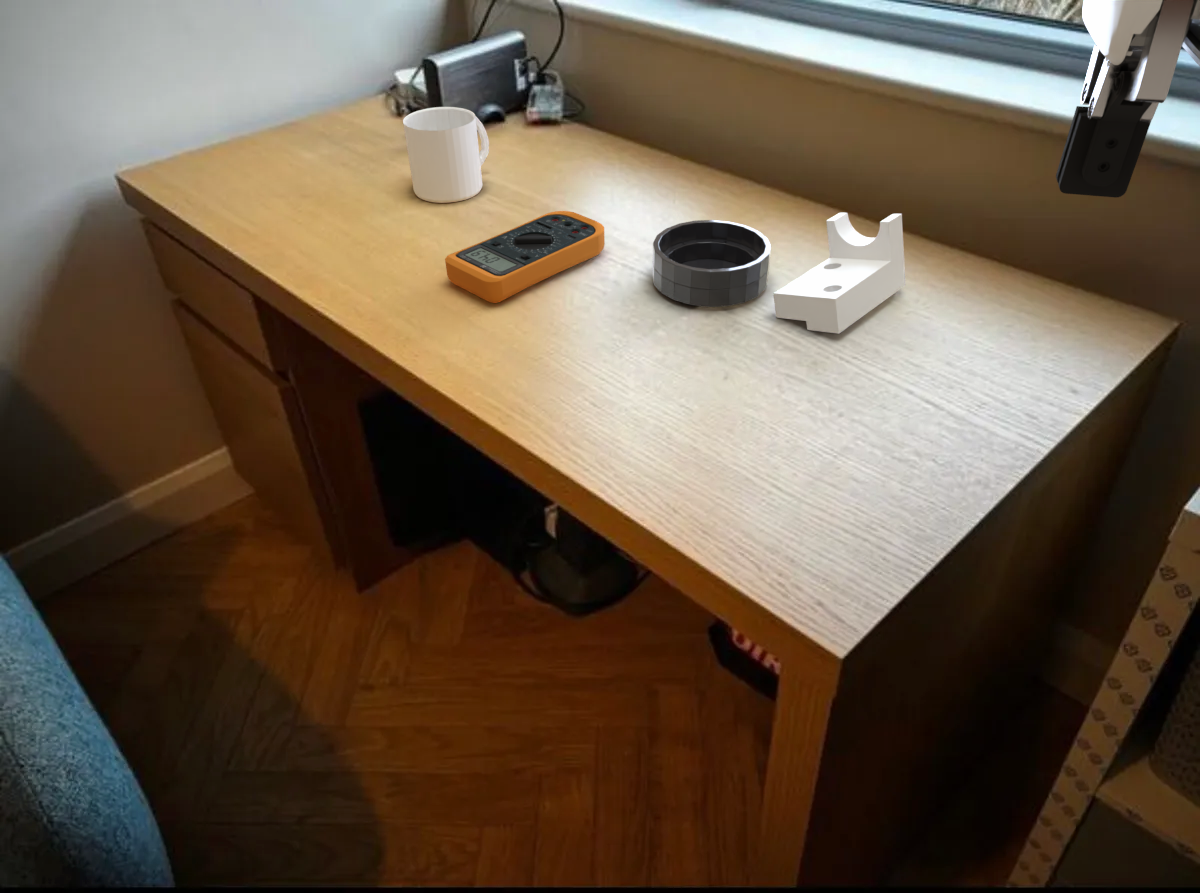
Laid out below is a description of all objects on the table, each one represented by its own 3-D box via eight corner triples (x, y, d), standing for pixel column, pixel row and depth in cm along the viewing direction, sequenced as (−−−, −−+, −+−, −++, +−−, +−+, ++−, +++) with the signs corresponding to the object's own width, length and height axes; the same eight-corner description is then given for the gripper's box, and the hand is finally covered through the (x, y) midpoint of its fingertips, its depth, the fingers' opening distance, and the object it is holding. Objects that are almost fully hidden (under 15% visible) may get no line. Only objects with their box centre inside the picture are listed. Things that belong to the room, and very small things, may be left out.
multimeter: (614, 252, 103) (613, 224, 101) (494, 310, 93) (491, 280, 91) (562, 231, 108) (561, 203, 106) (443, 283, 98) (439, 254, 96)
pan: (773, 263, 100) (777, 225, 97) (758, 317, 91) (762, 277, 88) (665, 252, 103) (666, 215, 100) (641, 303, 94) (641, 264, 91)
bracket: (845, 280, 99) (839, 212, 95) (905, 285, 94) (901, 213, 90) (777, 326, 91) (768, 254, 88) (838, 333, 86) (831, 258, 83)
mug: (436, 209, 114) (426, 135, 108) (401, 188, 119) (389, 117, 114) (514, 184, 120) (508, 113, 114) (477, 166, 125) (470, 97, 119)
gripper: (1418, -247, 30) (1201, 259, 41) (1279, -253, 41) (1139, 145, 52) (1168, -242, 31) (1025, 243, 43) (1101, -250, 43) (1002, 136, 54)
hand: (1088, 188), depth 48 cm, fingers closed
